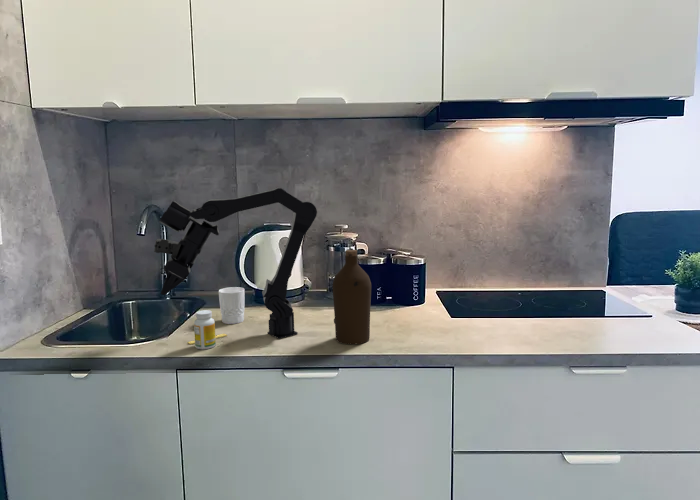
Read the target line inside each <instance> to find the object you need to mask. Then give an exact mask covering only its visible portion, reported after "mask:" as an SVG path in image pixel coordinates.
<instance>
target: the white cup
mask: <svg viewBox="0 0 700 500" xmlns="http://www.w3.org/2000/svg"><path fill="white" fill-rule="evenodd" d="M218 299H219V300H218V301H219V308H220V310H219V311H220V314H221V322H222V323H223V324H227V325H229V324H230V325H233V324H240V323H243V322H244V321H245V288H244V287H239V286H238V287H237V286H232V287H231V286H230V287H224V288H220V289H219V290H218Z"/></svg>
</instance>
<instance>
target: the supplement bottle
mask: <svg viewBox="0 0 700 500" xmlns="http://www.w3.org/2000/svg"><path fill="white" fill-rule="evenodd" d="M195 315H196V316H195V317H196V319H195V320H194V322H193V327H194V328H193V332H194V340H195V344H194V345H195V348H196V349H198V350H208V349H212V348H214V347H215V346H216V339H215V336H216V325H215V323H216V322H215V319H214V318H212V316H213V313H212V310H210V309H204V310H198V311H196V312H195Z"/></svg>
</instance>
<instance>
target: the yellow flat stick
mask: <svg viewBox="0 0 700 500" xmlns="http://www.w3.org/2000/svg"><path fill="white" fill-rule="evenodd" d="M227 336H228V335H227V334H226V333H221V334H217V335H216V334H215V340H216V339H219V338H225V337H227ZM187 344H189V345H190V346H191V345H195V339H194V340H191V341H188V342H187Z"/></svg>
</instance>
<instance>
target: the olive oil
mask: <svg viewBox="0 0 700 500" xmlns="http://www.w3.org/2000/svg"><path fill="white" fill-rule="evenodd" d="M344 258H345V259H344V260H345V261H344V262H345V264H344V265H343V266H342V268H341V269H340V270H338V271H337V273H336V274H335V275H334V277H333V280H332V281H333V282H332V298H333V299H332V300H333V312H334V313H333V315H334V319H333V324H334V328H335V341H336V342H338V343H340V344H344V345H353V346H354V345H361V344H365V343H367V342H369V340H370V337H371V336H370V335H371V334H370V333H371V332H370V331H371V330H370V328H371V326H370V325H371V306H372V305H371V303H372V302H371V300H372V282H371V279H370V276H369V274H368V273H367V272H366V271H365V270H364V269H363V268H362V267H361V266H360V265H359V263H358V262H359V261H358V260H359V257H358V250H357V249H345V255H344Z"/></svg>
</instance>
